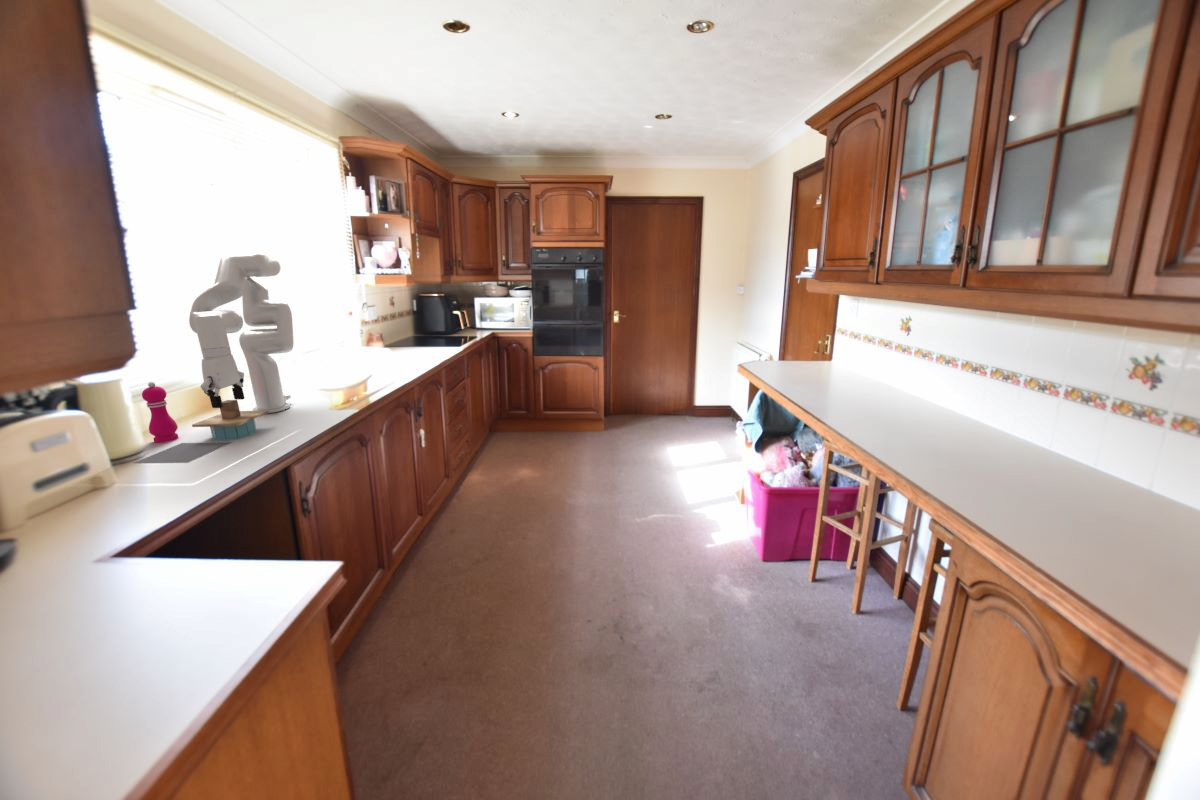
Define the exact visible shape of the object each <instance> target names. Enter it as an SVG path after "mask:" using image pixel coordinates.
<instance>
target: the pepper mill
mask: <svg viewBox="0 0 1200 800" xmlns="http://www.w3.org/2000/svg"><path fill="white" fill-rule="evenodd" d="M147 386H148V387H146V388H144V390H143V391H142V393H141V397H142V399H143V400H144V401H146V403H145V405H146V407H147V408H149V410H150V414H151V416H150V420H149V424H148V432H149V433H150V434H151V435H152V436H154V437H153V438H152V440H153V443H154V444H163V443H168V442H172V441H176V440H178V439H179V434H178V433H177V430H178V428H179V427H178V424H177V422H176V421H175V420H174V419H173V417H172V416H170V414H169V412H168V410H167V404H168V403H167V400H166V398H167V392H166V390H165V389H164V388H163V387H161V386H158V385H157V386H156V383H155V382H153V381H149V382H148V383H147Z"/></svg>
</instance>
